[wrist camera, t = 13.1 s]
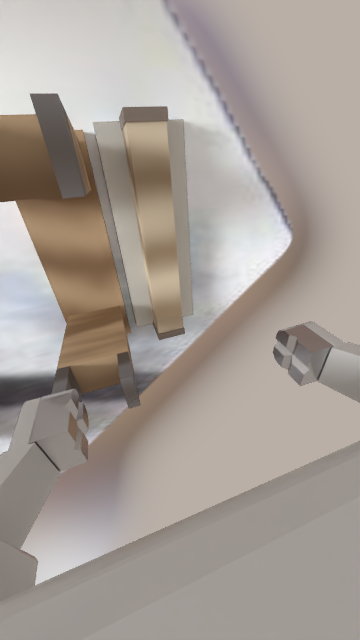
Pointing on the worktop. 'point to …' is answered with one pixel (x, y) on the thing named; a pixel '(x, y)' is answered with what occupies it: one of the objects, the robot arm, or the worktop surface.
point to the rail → (154, 211)
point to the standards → (69, 244)
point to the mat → (126, 218)
